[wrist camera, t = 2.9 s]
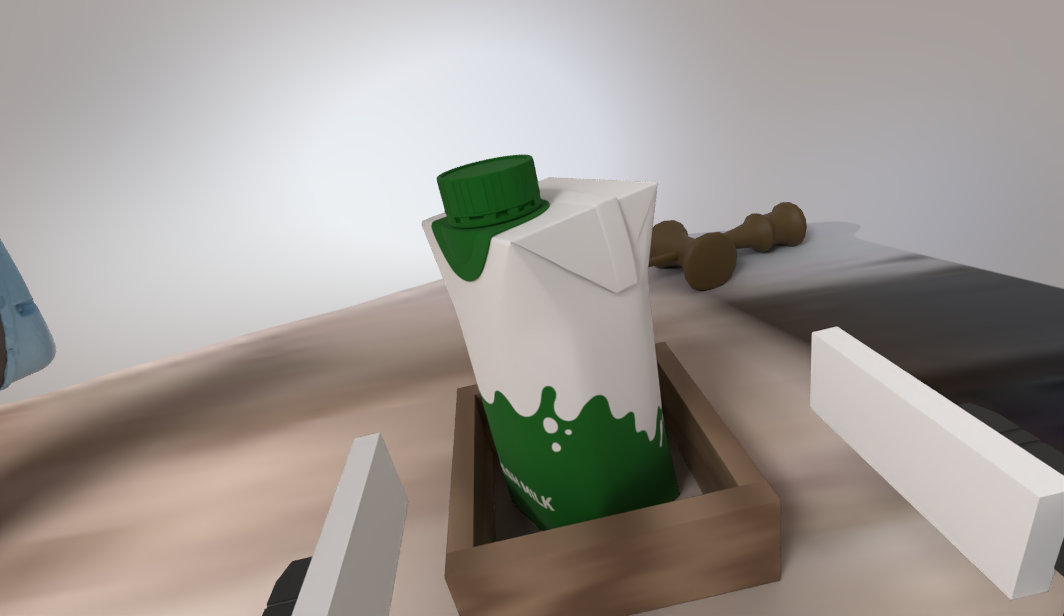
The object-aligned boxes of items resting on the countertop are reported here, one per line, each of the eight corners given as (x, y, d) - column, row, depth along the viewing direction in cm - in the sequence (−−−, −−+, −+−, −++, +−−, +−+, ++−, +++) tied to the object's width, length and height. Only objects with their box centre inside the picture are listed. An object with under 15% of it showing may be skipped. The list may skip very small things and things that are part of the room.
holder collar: (473, 651, 23) (444, 577, 21) (475, 446, 36) (457, 388, 34) (780, 580, 23) (780, 500, 21) (670, 401, 36) (664, 341, 34)
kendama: (826, 258, 54) (659, 308, 50) (763, 239, 62) (616, 281, 58) (829, 202, 51) (654, 250, 47) (763, 191, 60) (610, 231, 56)
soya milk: (492, 503, 31) (390, 179, 23) (598, 428, 35) (545, 133, 27) (588, 601, 24) (492, 187, 16) (705, 493, 28) (678, 124, 20)
